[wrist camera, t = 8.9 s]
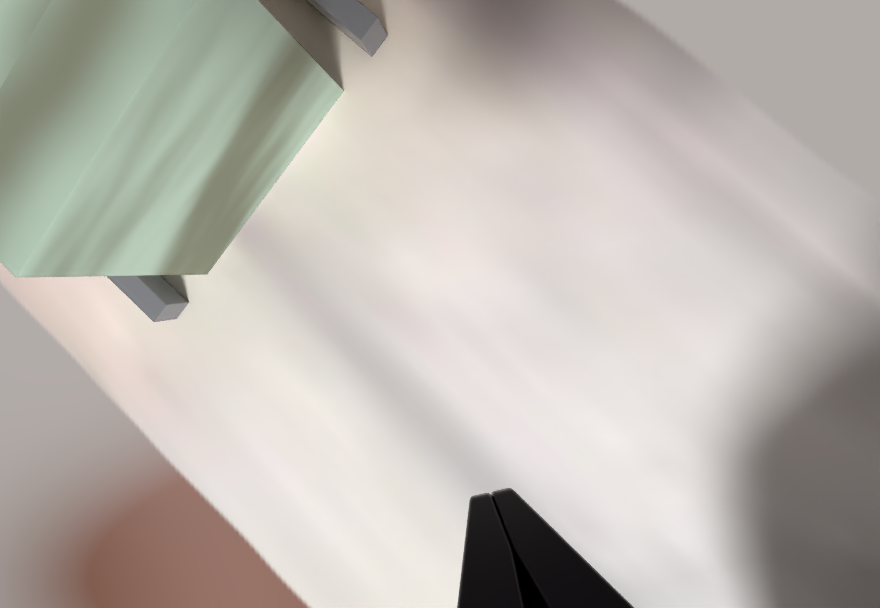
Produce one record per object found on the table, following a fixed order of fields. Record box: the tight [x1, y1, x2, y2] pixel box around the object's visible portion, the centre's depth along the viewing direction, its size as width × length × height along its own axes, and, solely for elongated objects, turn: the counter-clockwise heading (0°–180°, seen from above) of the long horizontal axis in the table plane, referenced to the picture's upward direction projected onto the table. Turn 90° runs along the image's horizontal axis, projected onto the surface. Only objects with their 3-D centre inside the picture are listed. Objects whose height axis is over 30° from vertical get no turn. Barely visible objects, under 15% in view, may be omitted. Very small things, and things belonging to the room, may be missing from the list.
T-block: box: [0, 0, 343, 278], centre depth 18 cm, size 14×12×9 cm
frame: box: [107, 0, 387, 322], centre depth 22 cm, size 18×18×2 cm
